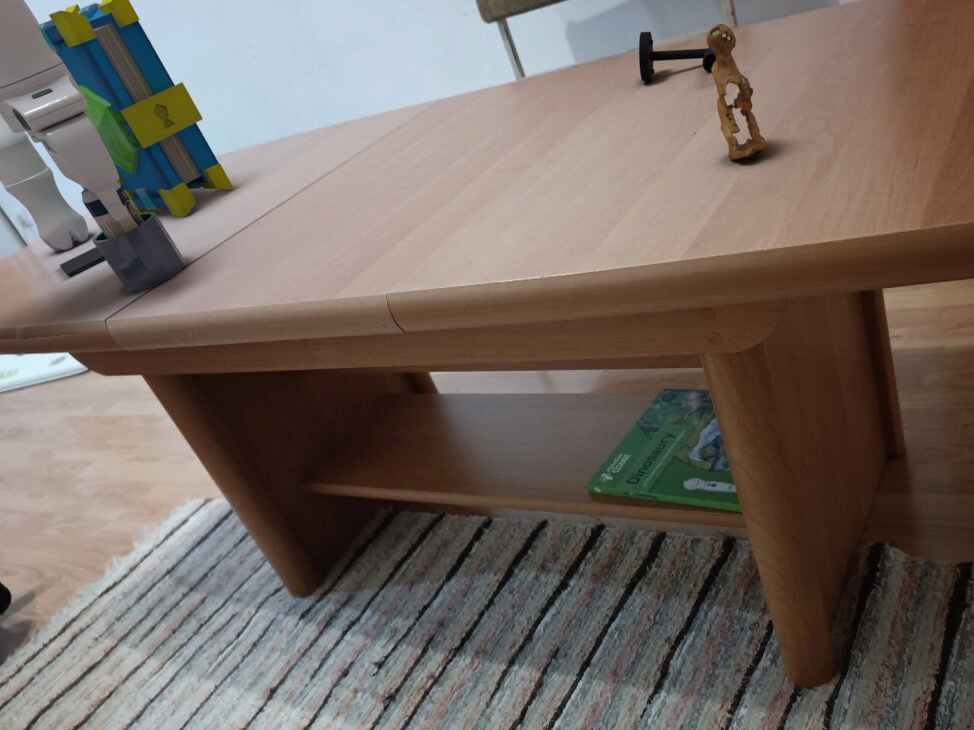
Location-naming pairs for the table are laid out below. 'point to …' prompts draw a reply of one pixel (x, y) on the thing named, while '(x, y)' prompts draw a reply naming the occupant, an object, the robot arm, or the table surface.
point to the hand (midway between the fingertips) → (115, 214)
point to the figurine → (729, 73)
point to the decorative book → (135, 106)
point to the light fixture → (668, 56)
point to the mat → (82, 262)
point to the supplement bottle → (104, 219)
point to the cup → (141, 254)
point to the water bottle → (38, 191)
